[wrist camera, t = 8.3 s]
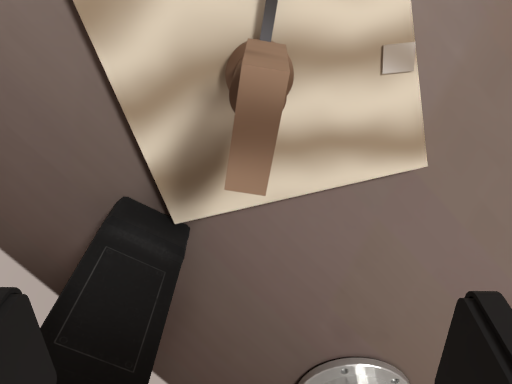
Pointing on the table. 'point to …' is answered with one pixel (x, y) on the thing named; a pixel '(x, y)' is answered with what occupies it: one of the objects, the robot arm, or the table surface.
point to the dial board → (298, 100)
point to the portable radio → (117, 299)
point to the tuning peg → (256, 106)
